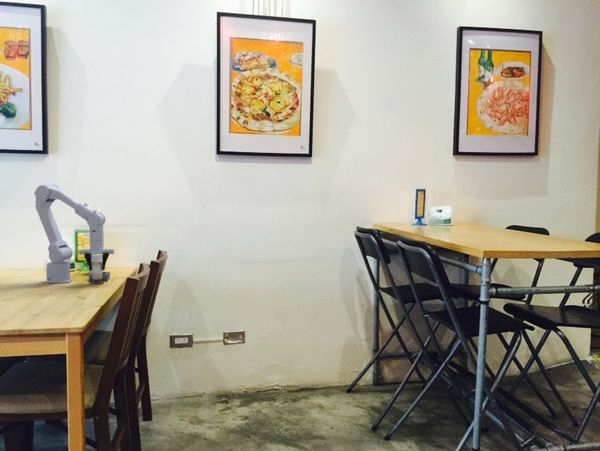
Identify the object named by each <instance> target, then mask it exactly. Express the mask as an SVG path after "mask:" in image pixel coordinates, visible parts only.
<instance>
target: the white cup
mask: <svg viewBox="0 0 600 451" xmlns="http://www.w3.org/2000/svg"><path fill="white" fill-rule="evenodd" d="M102 255H103V254H92V258H91V262H94V261H102V262H103V259H102ZM102 267H103V264H102ZM87 269H88V275H90V273H91V272H92V270H91V271H89V266H88V265H87ZM102 272H104V270H102Z"/></svg>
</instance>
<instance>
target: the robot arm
mask: <svg viewBox="0 0 600 451" xmlns="http://www.w3.org/2000/svg"><path fill="white" fill-rule="evenodd" d="M33 194H34V196H35V205H34V206H35V209H36V212H37V214H38V216H39V220H40V222H41V224H42V227H43V230H44V233H45V234H46V237H47V240H48V243H49V245H48V247H47V250H48V259H49V260H50V261H51V262H47V264H46V269H45V270H46V271H45V272H46V284H66V283H71V282H72V280H73V278H71V259H72V257H73V253H74V252H73V248H71V247H70V246H69V244H68V243H67V242H66V241H65V240H64V239H63V237H62V235H61V232H60V229H59V226H58V225H57V222H56V219H55V217H54V214H53V212H52V209H51V206H52V205H53V203H54V202H55V201H56V200H59V201H60V202H62V203H64V204H66V205H67V206H69V207H71V208H72V209H73V210H74V214H76V215H78V216H79V217H80V218H82V219H84V221H86V223H87V226H88V227H89V248H88V249H86V248H85V249H79V250H78V255H84V256H83V257H84V259H85V260H86V263H87V267H88V266H89V270H88V272H89V271H91V270H92V264H91V258H92V254H103V255H102V259H103V267H102V270H103V271H105V268H106V264H107V261H108V259H109V257H110V255H114V254H115V249H113V248H110V249H109V248H105V246H104V224H105V222H106V216H105V215H104V214H103V213H102V212H98V211H97V210H96V209H93V208H92V207H90V206H89V204H88V203H87V202H85V203H84V202H78V201H77V200H76V199H75V198H74V197H72V196H71V195H70V194H68V193H67V192H65V191H64V189H63V188H61V187H59V186H58V185H56V184H50V185H49V184H40V185H39V186H37V188H36V189H35V190H34V193H33Z"/></svg>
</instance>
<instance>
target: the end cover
mask: <svg viewBox="0 0 600 451" xmlns="http://www.w3.org/2000/svg"><path fill="white" fill-rule="evenodd" d="M91 264H92V279H102V278H103V273H102V264H103V262H102V261H94V262H91Z"/></svg>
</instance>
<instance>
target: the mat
mask: <svg viewBox="0 0 600 451" xmlns="http://www.w3.org/2000/svg"><path fill="white" fill-rule="evenodd" d="M89 284H90V285H101V284H105V281H92V282H89Z"/></svg>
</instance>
